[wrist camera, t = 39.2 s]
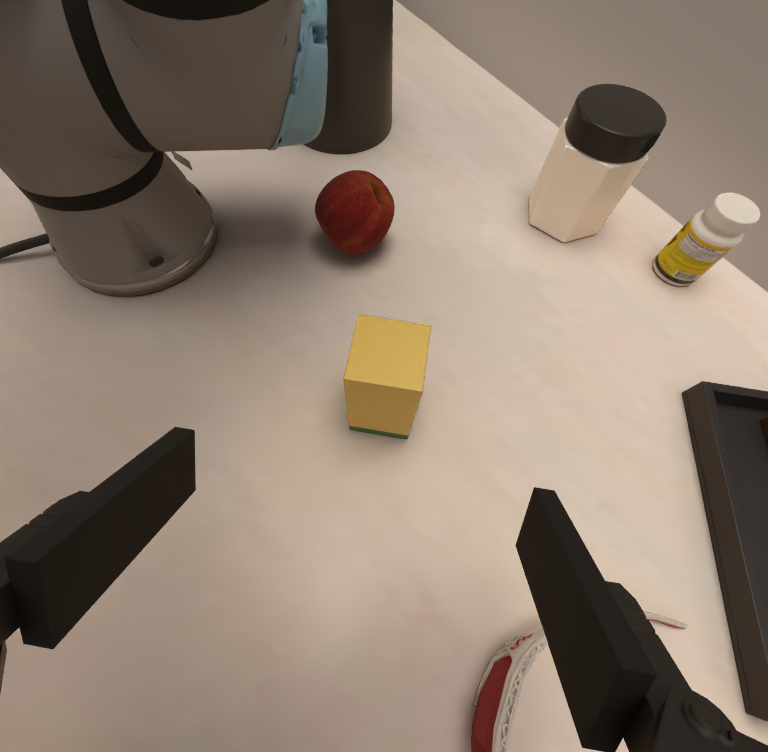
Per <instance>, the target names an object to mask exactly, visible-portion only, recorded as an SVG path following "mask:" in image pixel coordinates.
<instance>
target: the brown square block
mask: <svg viewBox="0 0 768 752" xmlns="http://www.w3.org/2000/svg"><path fill="white" fill-rule="evenodd" d="M760 421H761V425H762V428H763V432H764V435H765V439H766V442H767V446H768V417H767V418H764V419H762V420H760Z"/></svg>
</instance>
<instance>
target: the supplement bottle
mask: <svg viewBox="0 0 768 752" xmlns="http://www.w3.org/2000/svg"><path fill="white" fill-rule="evenodd" d="M759 218H760V211H759V208H758V207H757V206H756V204H754V203H753V202H752V201H751V200H750V199H748V198H747V197H744V196H742V195H740V194H736V193H723V194H720V195H719V196H717V197H716V198H715V199H714V200H713V201H712V202H711V203H710V204H709V205H708V206H707V208H706V209H705V210H702V211H700V212H698V213H696V214H695V215H694V216H693V217H692V218H691V219H690V220H689V222H687V224H686V225H685V226H684V227H683V228H682V229H681V230H680V231H679V232H678V233H677V234H676V235H675V237H674V238H673V239H672V240H671V241H670V242H669V243H668V244H667V245H666V246H665V247H664V248H663V249H662V251H661V252H660V253H659V254H658V255H657V256H656V257H655V259H654V262H653V267H654V270H655V272H656V273H657V275H658V276H659V277H660V278H662V279H663V280H664V281H666V282H668V283H670V284H672V285H676V286H687V285H690V284H692V283H694V282H695V281H696V280H697V279H698V278H700V277H701V276H702V275H703V274H704V273H705V272H706V271H707V270H709V269H710V268H711V267H712V266H713V265H714V264H715V263H716V262H718V261H719V260H720V259H721V258H722V257H723V256H724V255H726V254H727V253H728V252H729V251H730V250H731V249H732V248H734V247H735V246H736V245H737V244H738V243H739V242H740V241H741V240H742V238H743V236H744V232H746V231H747V230H748V229H749V228H750V227H752V226H753V225H754V224H755V223H756V222H757V221H758V220H759Z"/></svg>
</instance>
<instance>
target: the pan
mask: <svg viewBox="0 0 768 752" xmlns="http://www.w3.org/2000/svg"><path fill="white" fill-rule="evenodd" d="M682 395H683V400H684V405H685V410H686V415H687V419H688V424H689V429H690V434H691V439H692V444H693V449H694V454H695V459H696V464H697V469H698V474H699V479H700V484H701V489H702V494H703V499H704V504H705V509H706V514H707V519H708V524H709V529H710V534H711V539H712V544H713V549H714V554H715V559H716V564H717V569H718V574H719V579H720V584H721V589H722V594H723V599H724V604H725V609H726V613H727V618H728V623H729V628H730V633H731V638H732V643H733V648H734V653H735V658H736V663H737V668H738V673H739V678H740V683H741V688H742V693H743V698H744V703H745V708H746V713H747V714H749V715H752V716H755V717H757V718H760V719H763V720H765V721H768V446H767V442H766V439H765V435H764V432H763V428H762V425H761V421H760V420H762V419H764V418H767V417H768V392H767V391H761V390H755V389H748V388H742V387H736V386H729V385H723V384H717V383H711V382H704V381H702V382H700V383H699V384H697V385H695V386H693V387H691V388H690V389H688V390H686V391H684V392H682Z"/></svg>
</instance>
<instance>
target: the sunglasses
mask: <svg viewBox="0 0 768 752" xmlns="http://www.w3.org/2000/svg"><path fill="white" fill-rule="evenodd" d="M644 614H645V615H646V619H647V620H652V621H657V622H660V623H663V624H666V625H668V626H672V627H676V628H681V629H686V627H687V625H686V624H684V623H681V622H678V621H675V620H672V619H669V618H666V617H663V616H660V615H657V614H653V613H649V612H644ZM545 644H546V646H547V645H548V642H547V639H546V636H545V633H544V630H543V627H542V625H540V626H538V627H537V628H535V629H534V630H532V631H531V632H529V633H526V634H522V635H518V636H515V637H513V638H512V639H511V640H510V641H508V642H507V643H506V644H505V645H504V646H502V647H501V648H500V649H499V650H498V652H497V653H496V654H495V656H494V657H493V659H492V661H491V662H490V664H489V665H488V667H487V669H486V671H485V674H484V676H483V678H482V680H481V683H480V685H479V689H478V692H477V695H476V699H475V702H474V706H476V705H477V706H476V711H475V716H474V720H473V726H472V737H471V748H472V752H503V751H504V752H506V750H507V745H508V739H509V733H510V727H511V723H512V719H513V715H514V711H515V707H516V704H517V700H518V696H519V692H520V688H521V685H522V682H523V679H524V677H525V676H526V674H527V672H528V671H529V669H530V667H531V665H532V664H533V662H534V660H535V658H536V657H537V655H538V654H539V653H540V652H541V651H542V650H543V649H544V647H545ZM513 699H514V700H513ZM510 708H511V710H510ZM508 718H509V721H508Z"/></svg>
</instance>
